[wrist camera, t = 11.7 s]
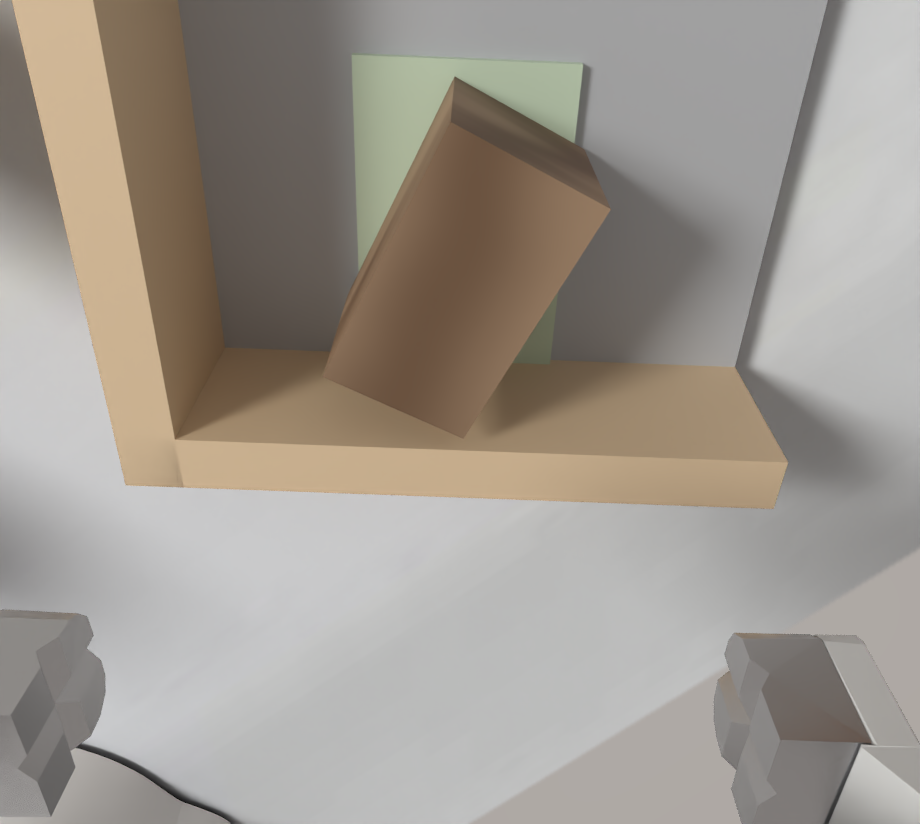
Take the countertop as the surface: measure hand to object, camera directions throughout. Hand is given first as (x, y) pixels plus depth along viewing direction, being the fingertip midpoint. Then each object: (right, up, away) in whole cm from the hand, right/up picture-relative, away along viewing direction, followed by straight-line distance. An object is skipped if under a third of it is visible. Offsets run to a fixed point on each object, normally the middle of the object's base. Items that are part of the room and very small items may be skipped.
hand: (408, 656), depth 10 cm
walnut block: (+1, +9, +13) cm, 16 cm away
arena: (+1, +12, +12) cm, 17 cm away
